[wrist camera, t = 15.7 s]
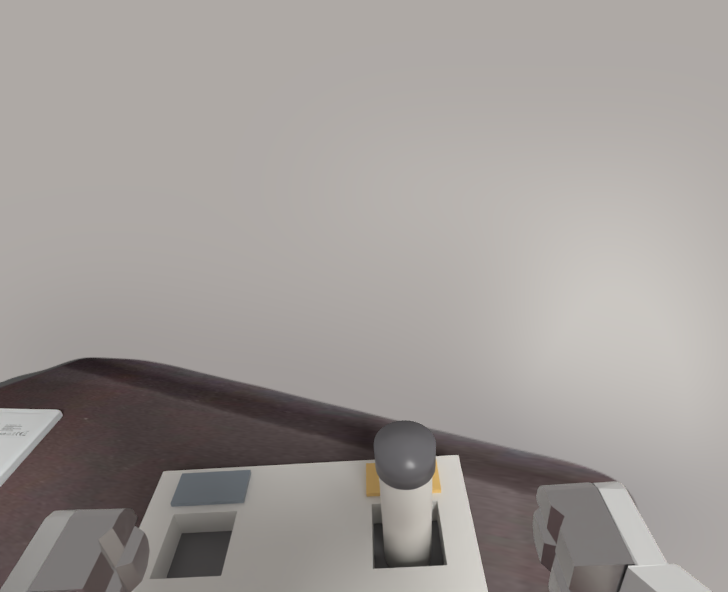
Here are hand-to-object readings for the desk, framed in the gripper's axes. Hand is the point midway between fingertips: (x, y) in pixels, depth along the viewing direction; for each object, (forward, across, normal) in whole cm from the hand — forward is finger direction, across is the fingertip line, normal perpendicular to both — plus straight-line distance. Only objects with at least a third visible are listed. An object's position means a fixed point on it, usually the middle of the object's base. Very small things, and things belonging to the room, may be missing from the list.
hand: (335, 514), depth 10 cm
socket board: (+17, +6, +28) cm, 33 cm away
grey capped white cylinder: (+16, -2, +28) cm, 32 cm away
